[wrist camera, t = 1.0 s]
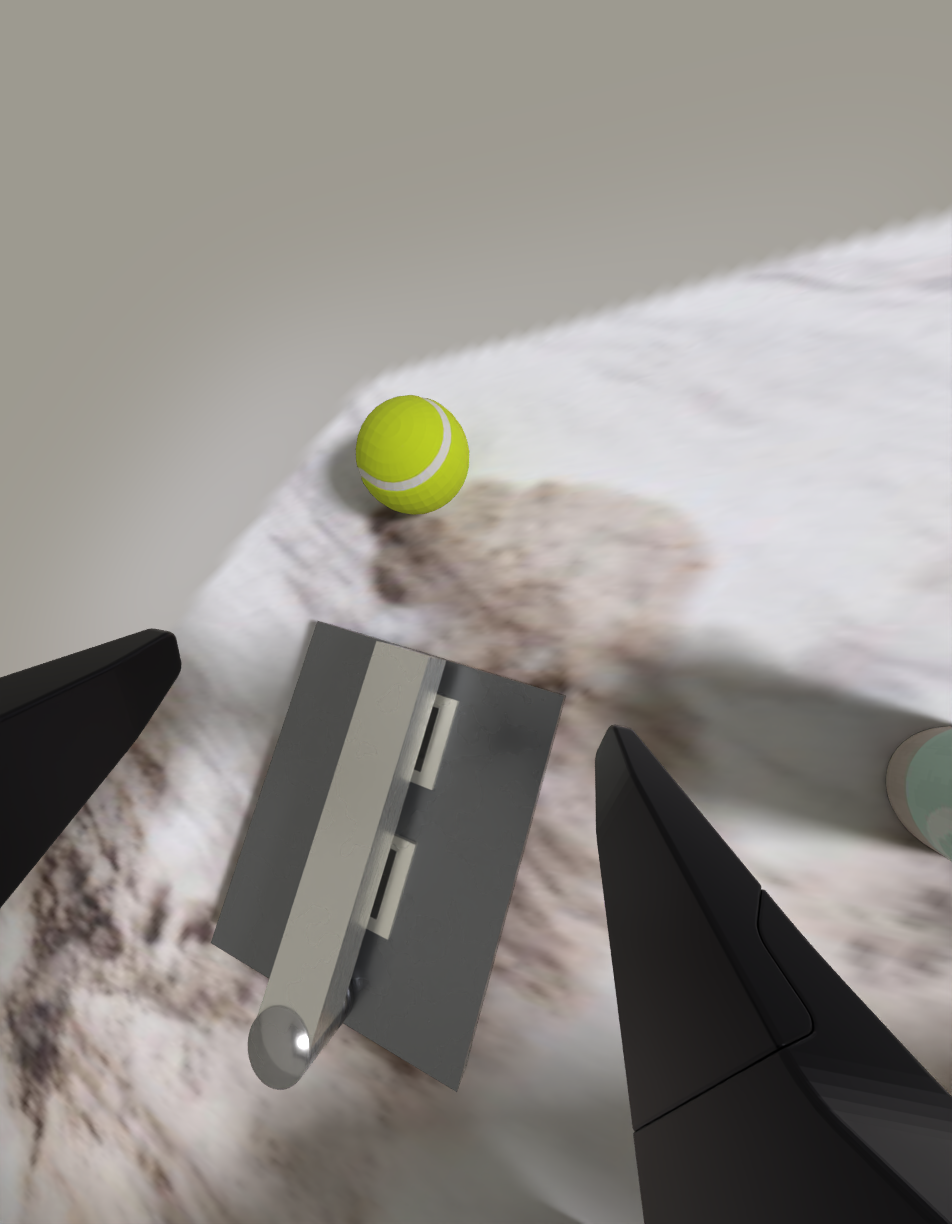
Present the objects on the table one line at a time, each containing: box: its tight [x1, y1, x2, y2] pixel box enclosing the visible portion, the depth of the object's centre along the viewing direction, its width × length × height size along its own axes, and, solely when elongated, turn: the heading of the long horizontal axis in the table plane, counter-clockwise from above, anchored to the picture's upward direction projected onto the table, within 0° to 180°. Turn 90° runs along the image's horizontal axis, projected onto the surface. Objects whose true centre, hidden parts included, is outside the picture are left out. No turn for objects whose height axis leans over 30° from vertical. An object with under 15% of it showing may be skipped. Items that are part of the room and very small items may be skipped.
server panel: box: [211, 621, 566, 1092], centre depth 26 cm, size 21×16×2 cm
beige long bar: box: [248, 641, 446, 1090], centre depth 23 cm, size 21×3×3 cm, turn 163°
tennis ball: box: [356, 395, 469, 515], centre depth 27 cm, size 7×7×7 cm
